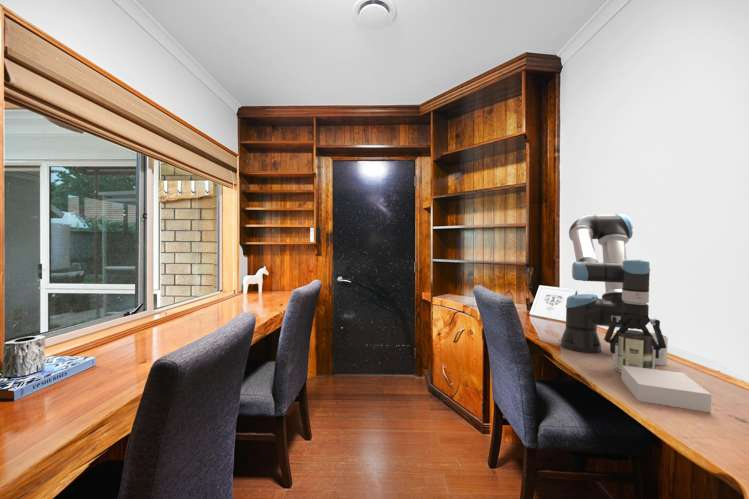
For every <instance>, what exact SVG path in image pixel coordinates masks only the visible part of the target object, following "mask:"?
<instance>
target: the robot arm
mask: <svg viewBox="0 0 749 499" xmlns="http://www.w3.org/2000/svg"><path fill="white" fill-rule="evenodd" d="M633 228H634V227H633V223H632V220H631V218H630V217H629V216H628V215H626V214H617V213H615V214H590V215H584V216H581V217H580V218H578V219H576V220H575V221H574V222H572V224H571V226H570V227H569V231H568V236H569V239H570V240H571V241H572V245H573V251H574V256H575V257H574V258H575V262H573V263H572V267H571V274H572V275H571V276H572V279H573V280H574V281H581V282H599V283H600V282H603V283H604V289H605V292H604V293H603V294H602V295H601V298H599V297H598V295H596V294H594V293H593V294H589V293H582V294H572V295H569V296H568V297H566V304H565V329H564V330H563V332H562V336H561V339H560V345H561V346H562V347H563V348H564V349H565V348H566V349H568V350H571V351H576V352H580V353H581V352H582V353H590V354H591V353H593V354H595V353H600V352H601V351H602V343H601V341H600V338H599V334H598V332H597V331H598V328H597V327H598V326H599V327H601V326H602V327H608V328H607V330H606V334H605V335H604V339H603V340H604V341H605V342H606V343H608V344H610V346H609V352H610V353H611V354H612V360H613V362H614V364H615V365H616V364H618V345H617V344H616V343H617V342H618V340H619V335H618V334H617V333H616V332H615V329H616V328H618V329H617V330H618V332H619V333H625V332H626V331H627V330H638V331H640V330H641V332H644V334H645V335H647V336H652V335H651V334H650V333H651V332H650V331H649V329H648V327H647V325H648V324H649V323H650V324H651V326H652V328H653V331H654V332H653V333H655V335H656V338H657V341H658V344H657V343H656V341H655V340H654V338H653V339H652V346H653V348H652V369H656V365H655V358H659V350H660V349H661V348H666V345H665V342H664V339H663V336H662V335H663V333H662V329H661V321H660V320H659V319H657V318H650V317H649V314H650V313H649V308H650V307H649V302H650V301H649V300H650V275H651V274H650V273H651V268H650V267H651V266H650V261H649V260H647V259H634V258H628V259H627V249H626V244H627V243H628V242H629V241H630V239H632V237H633V235H634V234H633V233H634V231H633ZM593 240H597V243H598V245H600V246H601V248H602V259H603V260H602V262H599V259H598V256H597V252H596V248H595V246H594V241H593ZM614 332H615V334H614ZM613 334H614V335H613Z"/></svg>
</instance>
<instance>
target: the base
mask: <svg viewBox="0 0 749 499" xmlns="http://www.w3.org/2000/svg"><path fill="white" fill-rule="evenodd" d="M621 381H622V383H623V384H624V385H625V386H626V388H627V389H628V390H629V391H630V392H631V394H632V396H634V397H635V399H636V400H637V402H642V403H647V404H654V405H660V404H661V406H666V405H668V407H674V408H679V407H680V409H684V410H685V409H686V410H692V411H693V410H694V411H699V412H706V413H711V412H712V394H711V393H710V392H709V391H708V390H706V389H705V388H704V387H702V386H701V385H700V384H698V382H695V381H694V380H693V379H692V378H690V377H689V376H688V375H686V374H685V373H684V372H677V371H670V370H662V369H656V368H652V369H647V368H639V367H631V366H624V365H622V373H621Z"/></svg>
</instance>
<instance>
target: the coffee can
mask: <svg viewBox="0 0 749 499" xmlns="http://www.w3.org/2000/svg"><path fill="white" fill-rule="evenodd" d="M618 330H619V329H617V330H616V331H615V334H616V333H617V334H618V335H619V340H618V342H617V343H616V344H617V345H618V364H616V363H615V370H616V371H617V372H619V373H621V374H622V365H624V366H631V367H639V368H647V369H653V368H652V339H653V335H652V336H647V335H645V334H644V332H643V331H642V330H641V331H640V330H636V329H628V330H627V331H626V332H625V333H619V332H618Z"/></svg>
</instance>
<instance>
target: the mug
mask: <svg viewBox="0 0 749 499" xmlns="http://www.w3.org/2000/svg"><path fill="white" fill-rule="evenodd" d="M650 334H651V335H653V338H654V340H655V341H656V343H657V344H658V341H657V338H656V335H655V332H650ZM662 336H663V339H664V342H665V345H666V348H661V349H660V350H659V358H655V366H667V364H668V344H669V343H668V338H669V337H668V336H667V335H664V334H662ZM652 348H653V346H652Z"/></svg>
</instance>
